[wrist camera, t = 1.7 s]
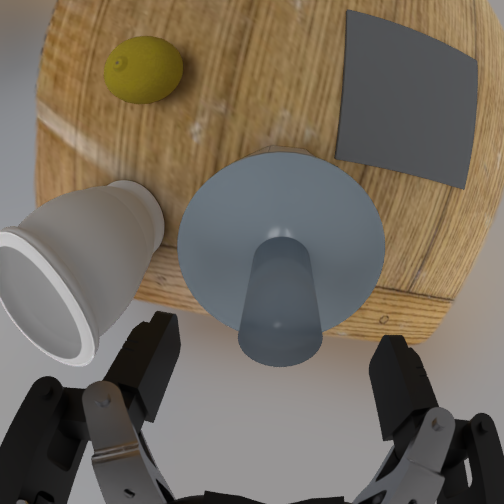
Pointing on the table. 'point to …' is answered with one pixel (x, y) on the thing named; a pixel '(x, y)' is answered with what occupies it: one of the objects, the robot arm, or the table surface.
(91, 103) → the table surface
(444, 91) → the mat
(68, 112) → the table surface
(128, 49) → the lemon
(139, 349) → the robot arm
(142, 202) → the jar
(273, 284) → the lid
